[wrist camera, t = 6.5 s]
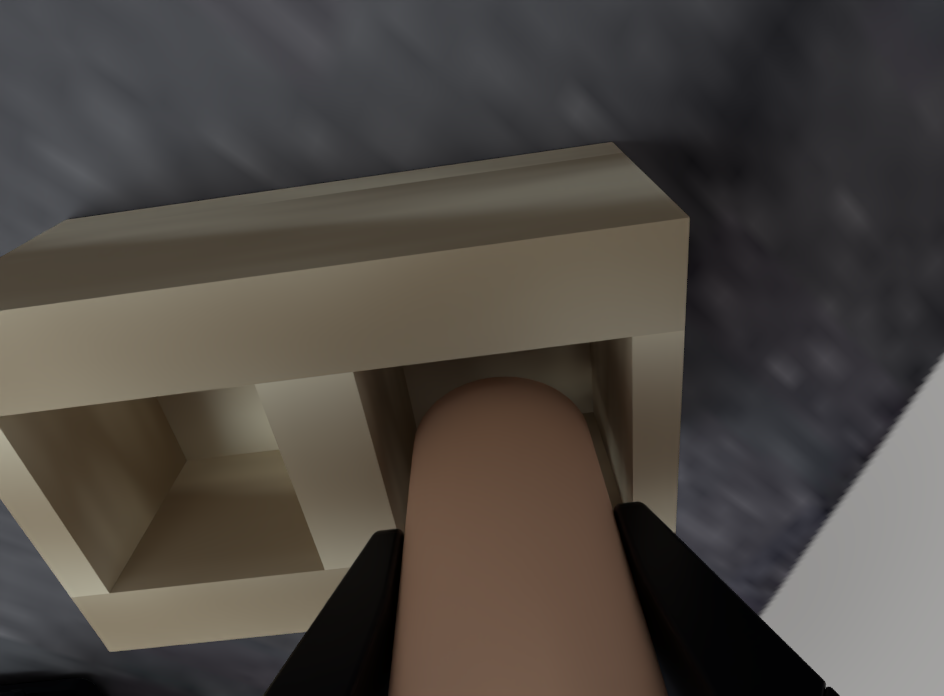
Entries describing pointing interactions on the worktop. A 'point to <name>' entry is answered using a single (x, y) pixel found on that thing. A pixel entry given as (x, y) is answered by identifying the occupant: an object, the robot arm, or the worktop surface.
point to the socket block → (317, 372)
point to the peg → (514, 556)
